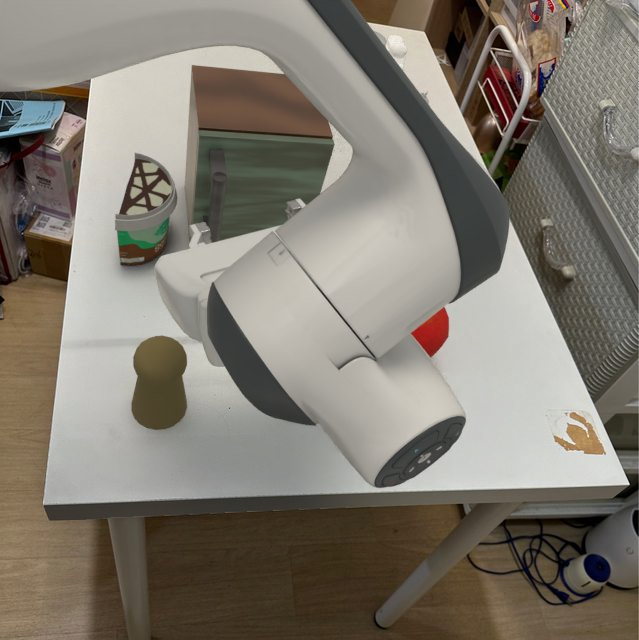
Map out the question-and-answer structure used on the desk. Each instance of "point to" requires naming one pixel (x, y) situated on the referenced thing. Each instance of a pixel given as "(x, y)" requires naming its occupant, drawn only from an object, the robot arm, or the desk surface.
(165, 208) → the food container
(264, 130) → the cupboard
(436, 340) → the apple
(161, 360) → the cork
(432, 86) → the desk surface
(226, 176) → the door
